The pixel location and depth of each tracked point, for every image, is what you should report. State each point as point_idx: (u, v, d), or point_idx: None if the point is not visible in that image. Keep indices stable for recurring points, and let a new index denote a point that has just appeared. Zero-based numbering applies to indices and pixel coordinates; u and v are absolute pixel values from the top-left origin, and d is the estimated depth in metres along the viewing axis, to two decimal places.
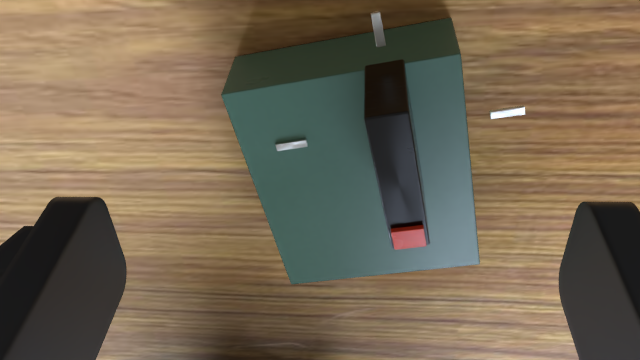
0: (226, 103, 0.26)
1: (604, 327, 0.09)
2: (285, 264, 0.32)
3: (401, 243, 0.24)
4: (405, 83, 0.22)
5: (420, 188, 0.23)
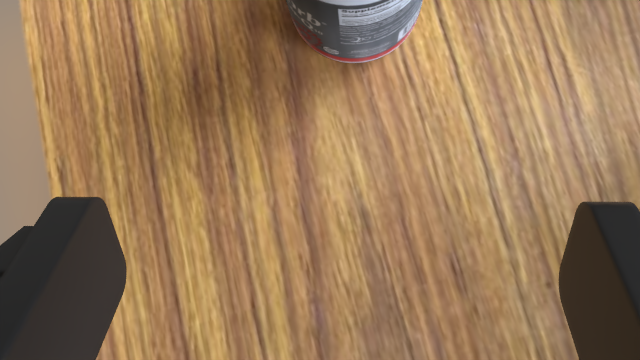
0: None
1: (604, 327, 0.09)
2: None
3: None
4: None
5: None
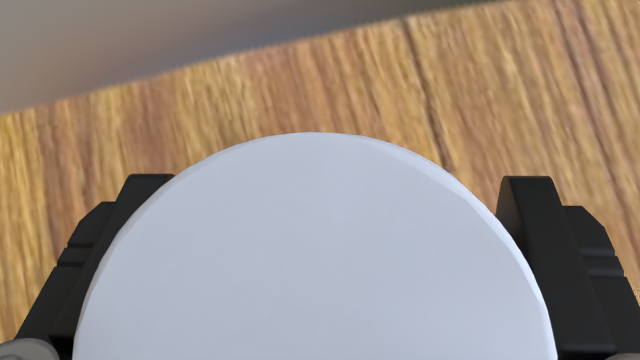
0: None
1: None
2: None
3: None
4: None
5: None
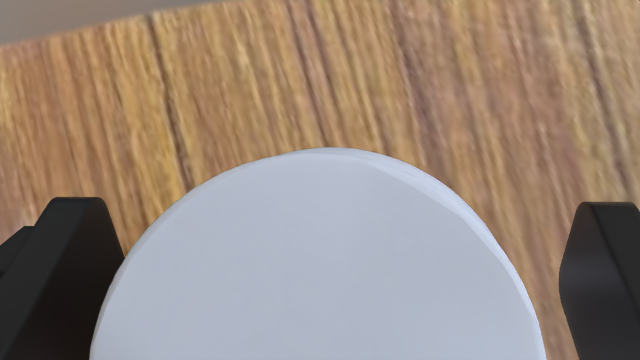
0: None
1: (604, 327, 0.09)
2: None
3: None
4: None
5: None
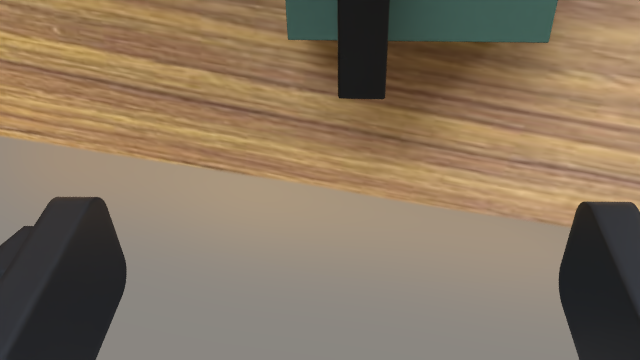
0: (548, 31, 0.23)
1: (604, 327, 0.09)
2: None
3: None
4: None
5: None
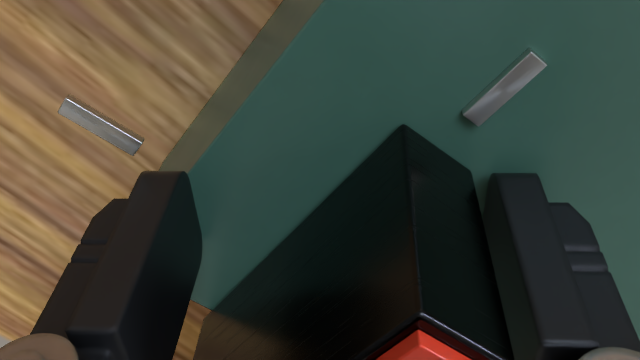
0: None
1: (503, 286, 0.09)
2: None
3: None
4: None
5: None
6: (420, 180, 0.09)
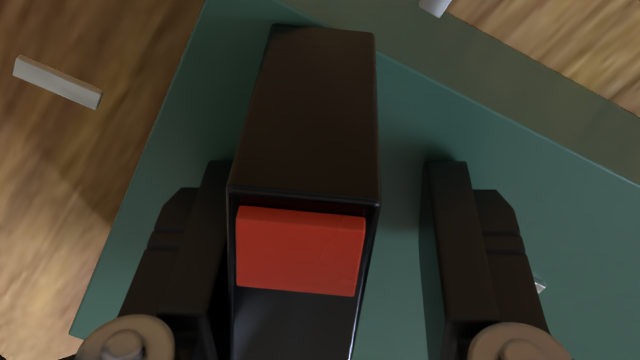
0: None
1: (429, 269, 0.10)
2: None
3: (327, 253, 0.06)
4: None
5: None
6: (278, 66, 0.08)
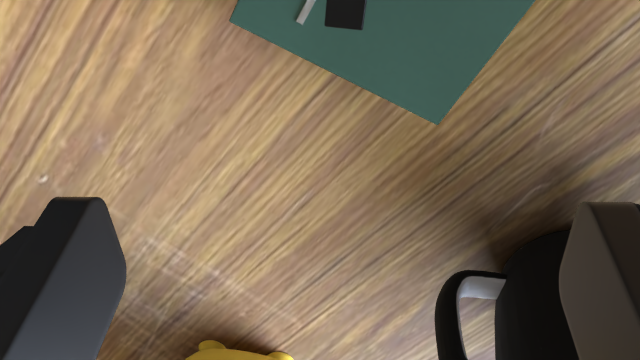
0: (238, 24, 0.29)
1: (604, 327, 0.09)
2: (413, 111, 0.32)
3: None
4: None
5: None
6: None
